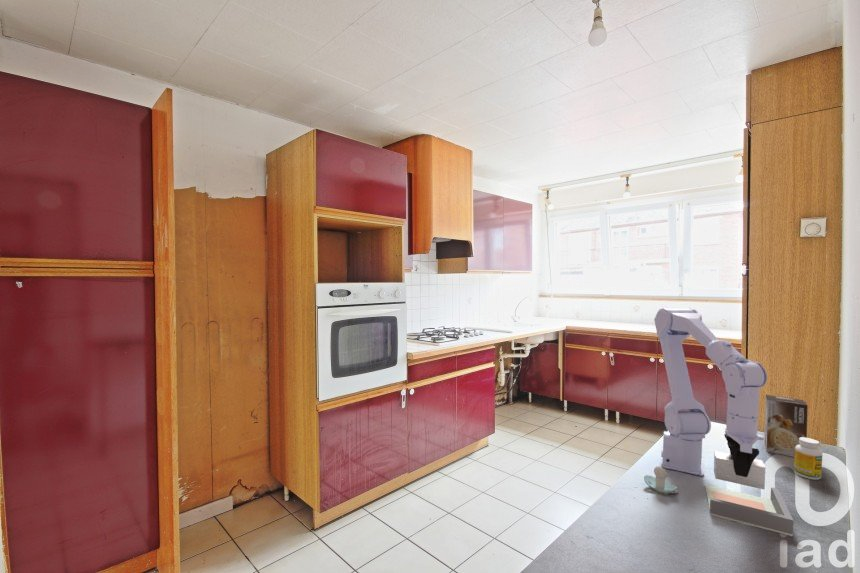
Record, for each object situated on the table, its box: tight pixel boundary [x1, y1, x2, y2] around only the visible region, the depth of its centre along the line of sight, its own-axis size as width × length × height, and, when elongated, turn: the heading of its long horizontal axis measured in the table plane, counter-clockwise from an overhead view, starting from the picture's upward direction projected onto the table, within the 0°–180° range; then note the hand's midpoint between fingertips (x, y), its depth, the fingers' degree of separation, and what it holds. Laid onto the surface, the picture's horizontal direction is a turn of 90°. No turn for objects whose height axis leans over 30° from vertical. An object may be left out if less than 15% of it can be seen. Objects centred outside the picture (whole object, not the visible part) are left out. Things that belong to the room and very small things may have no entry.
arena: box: [704, 484, 794, 537], centre depth 93 cm, size 14×14×3 cm
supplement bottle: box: [793, 437, 823, 481], centre depth 108 cm, size 5×5×10 cm
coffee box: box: [763, 394, 809, 458], centre depth 122 cm, size 9×6×16 cm
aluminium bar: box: [713, 451, 766, 490], centre depth 94 cm, size 9×4×5 cm, turn 60°
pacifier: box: [643, 465, 679, 495], centre depth 101 cm, size 7×6×6 cm
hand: (739, 471), depth 94 cm, fingers closed on aluminium bar, 4 cm apart
